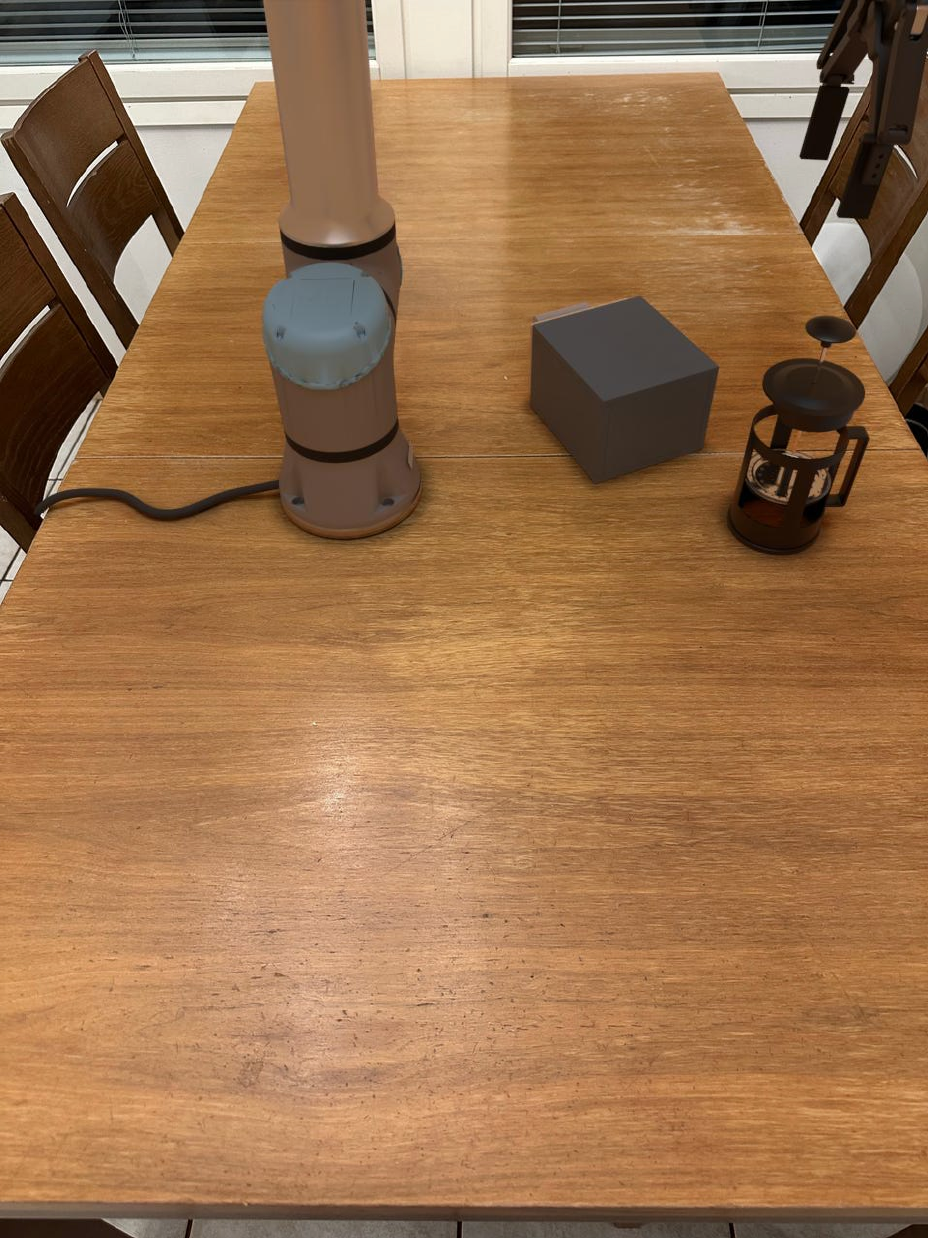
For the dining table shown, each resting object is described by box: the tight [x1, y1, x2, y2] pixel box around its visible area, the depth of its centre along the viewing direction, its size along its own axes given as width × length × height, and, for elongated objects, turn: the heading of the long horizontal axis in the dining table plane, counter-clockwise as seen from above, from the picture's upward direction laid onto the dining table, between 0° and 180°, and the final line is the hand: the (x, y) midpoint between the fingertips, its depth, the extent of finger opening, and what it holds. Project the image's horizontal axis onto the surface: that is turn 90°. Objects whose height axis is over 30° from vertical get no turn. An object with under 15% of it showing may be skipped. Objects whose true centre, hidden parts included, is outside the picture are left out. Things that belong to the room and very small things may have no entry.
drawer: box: [527, 297, 629, 392], centre depth 108 cm, size 19×13×9 cm, turn 25°
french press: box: [726, 315, 870, 556], centre depth 89 cm, size 12×9×23 cm
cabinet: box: [529, 295, 720, 485], centre depth 105 cm, size 16×14×11 cm
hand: (831, 186), depth 90 cm, fingers open, 13 cm apart
